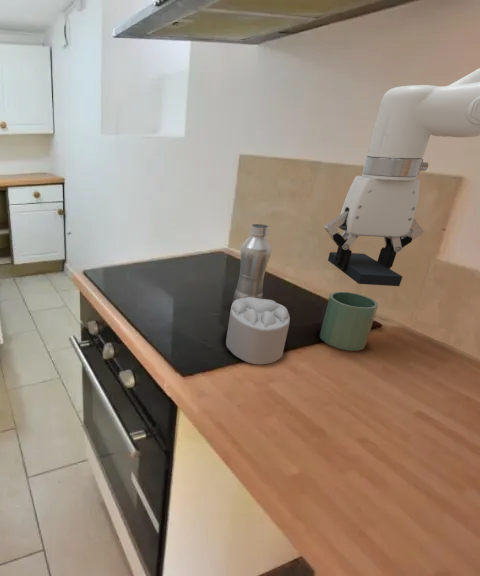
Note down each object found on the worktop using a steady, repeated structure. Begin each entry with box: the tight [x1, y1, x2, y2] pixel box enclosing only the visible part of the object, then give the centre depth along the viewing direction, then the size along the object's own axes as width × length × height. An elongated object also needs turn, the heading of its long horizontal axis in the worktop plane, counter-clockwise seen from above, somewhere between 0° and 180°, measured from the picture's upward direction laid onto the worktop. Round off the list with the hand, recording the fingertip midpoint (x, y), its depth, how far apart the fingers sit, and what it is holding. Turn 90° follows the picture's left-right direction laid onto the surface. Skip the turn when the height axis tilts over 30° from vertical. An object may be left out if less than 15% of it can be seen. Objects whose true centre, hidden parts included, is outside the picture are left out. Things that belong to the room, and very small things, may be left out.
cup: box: [319, 291, 379, 352], centre depth 74 cm, size 8×8×9 cm
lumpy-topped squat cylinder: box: [225, 297, 291, 365], centre depth 72 cm, size 10×13×9 cm
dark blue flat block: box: [327, 251, 403, 287], centre depth 70 cm, size 6×13×2 cm, turn 171°
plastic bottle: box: [232, 223, 272, 303], centre depth 85 cm, size 6×7×20 cm
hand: (361, 268), depth 70 cm, fingers closed on dark blue flat block, 6 cm apart
